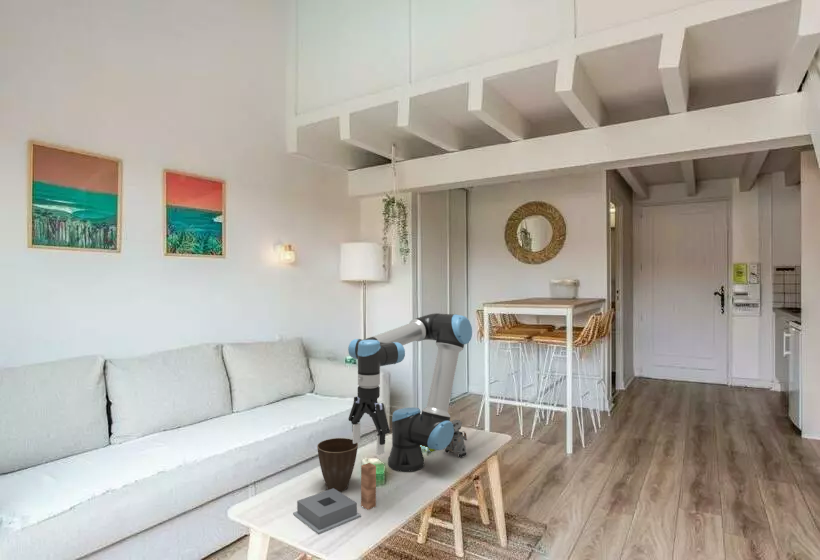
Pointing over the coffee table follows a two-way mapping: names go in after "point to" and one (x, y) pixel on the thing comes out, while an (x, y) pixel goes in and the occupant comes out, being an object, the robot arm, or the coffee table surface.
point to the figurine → (457, 440)
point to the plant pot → (337, 462)
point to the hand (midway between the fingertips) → (368, 448)
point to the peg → (368, 486)
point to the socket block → (326, 510)
